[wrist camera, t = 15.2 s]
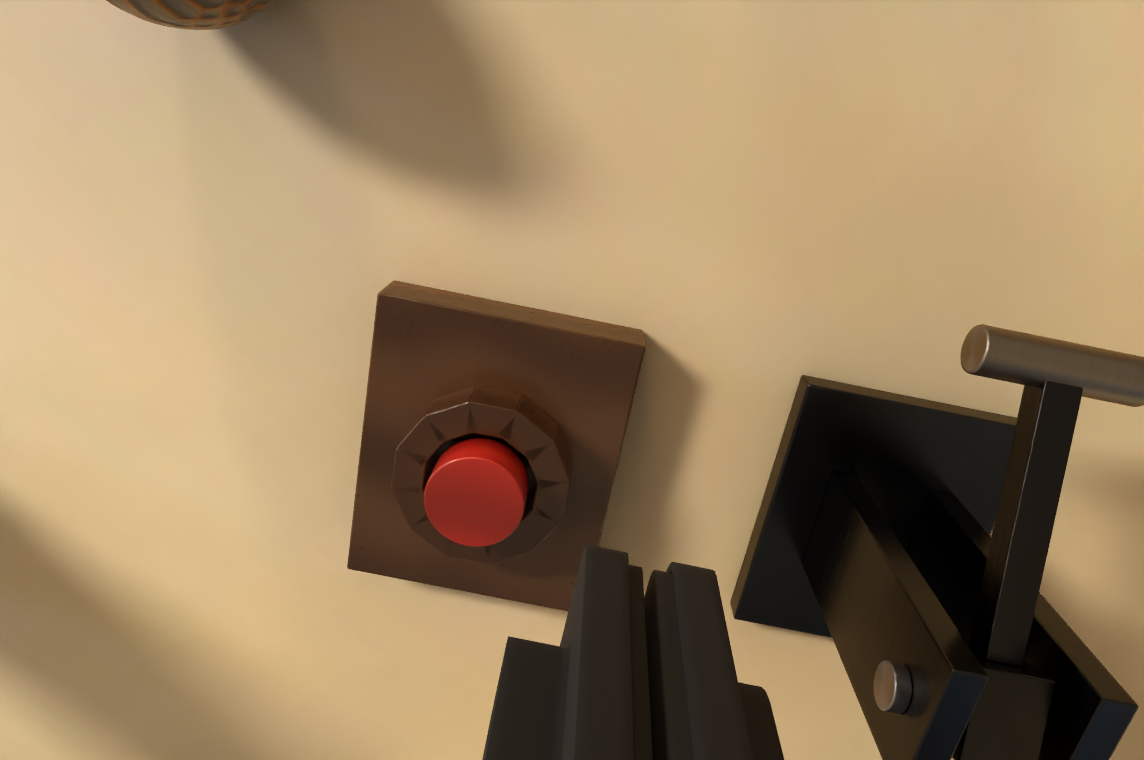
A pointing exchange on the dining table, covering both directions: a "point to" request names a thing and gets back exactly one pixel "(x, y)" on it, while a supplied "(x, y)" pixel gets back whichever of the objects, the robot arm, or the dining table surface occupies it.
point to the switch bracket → (907, 568)
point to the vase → (193, 12)
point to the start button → (477, 492)
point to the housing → (490, 436)
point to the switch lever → (1029, 522)
